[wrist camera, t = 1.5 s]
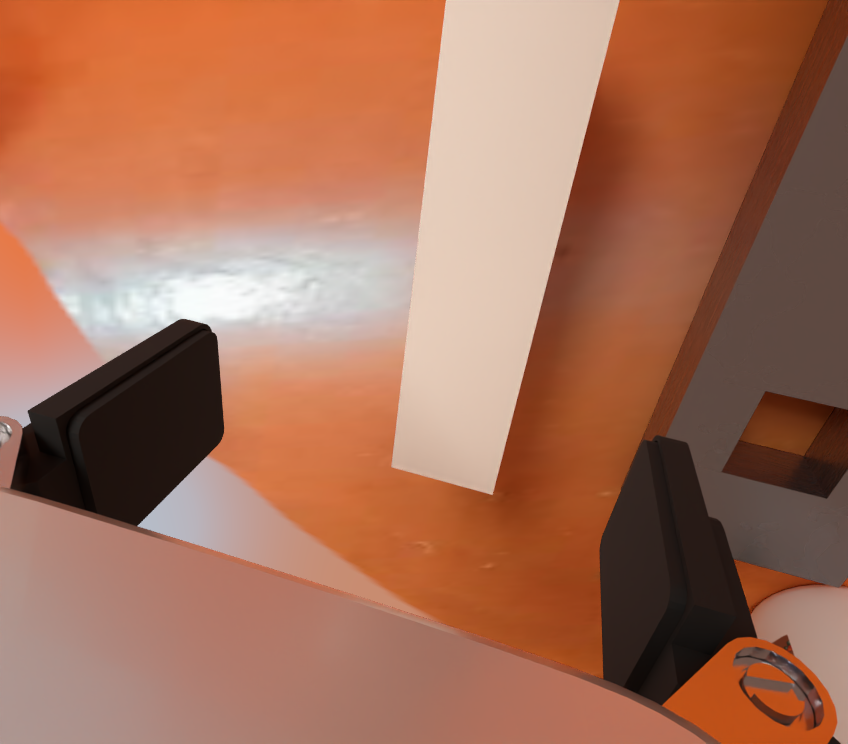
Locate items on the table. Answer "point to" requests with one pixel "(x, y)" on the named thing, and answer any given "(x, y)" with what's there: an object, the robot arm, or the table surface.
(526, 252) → the white peg bar
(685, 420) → the grey base board
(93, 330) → the table surface
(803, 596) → the milk bottle
